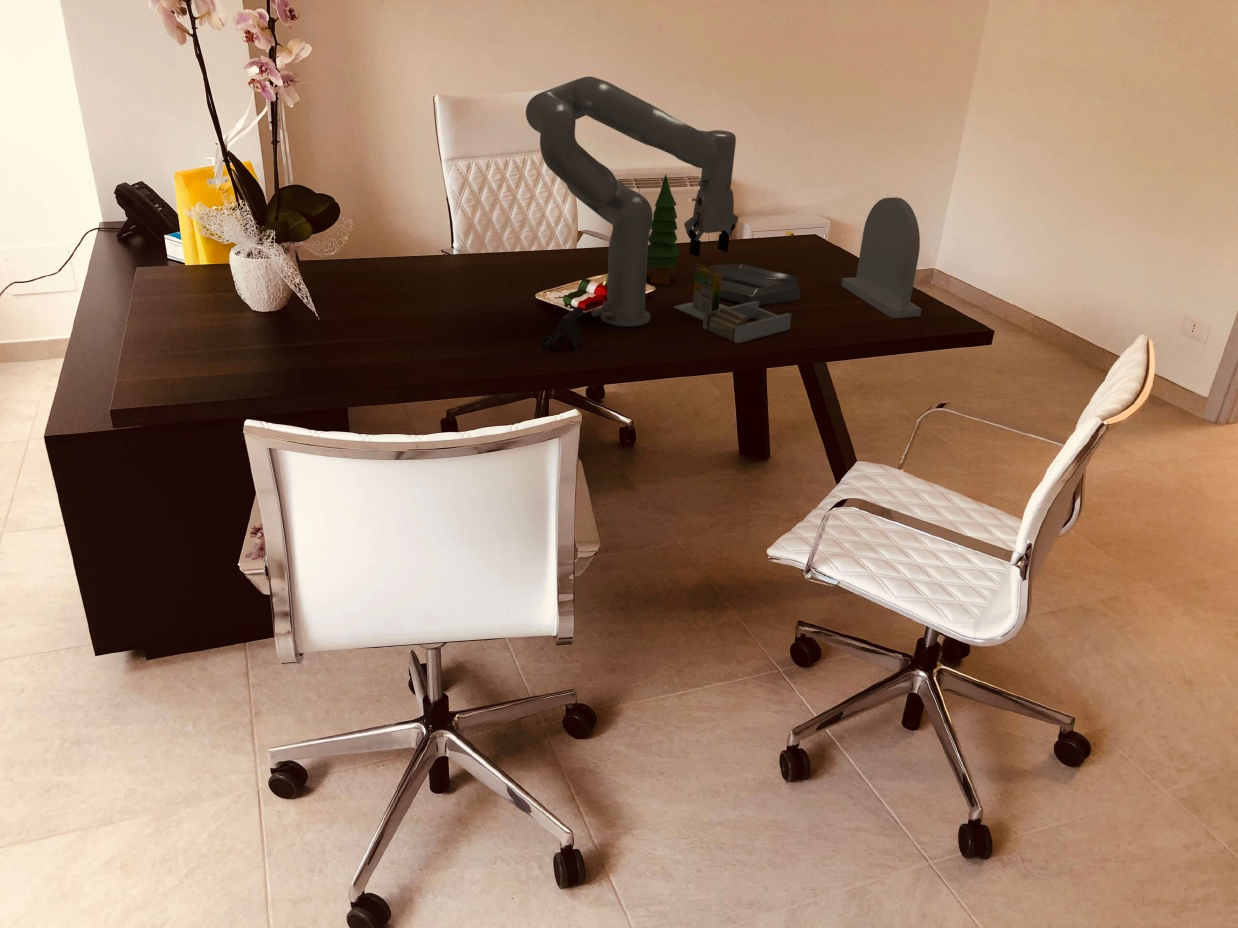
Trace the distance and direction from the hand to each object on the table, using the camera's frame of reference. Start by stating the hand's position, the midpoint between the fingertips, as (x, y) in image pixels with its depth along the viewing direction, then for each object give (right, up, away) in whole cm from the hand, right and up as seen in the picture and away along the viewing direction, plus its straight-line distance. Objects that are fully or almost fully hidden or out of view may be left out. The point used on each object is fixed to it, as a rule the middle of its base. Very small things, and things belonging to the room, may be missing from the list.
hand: (708, 252), depth 245 cm
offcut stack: (+4, -22, -8) cm, 23 cm away
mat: (0, -13, +7) cm, 15 cm away
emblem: (+13, -6, +23) cm, 27 cm away
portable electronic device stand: (-35, -26, -18) cm, 47 cm away
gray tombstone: (+49, -9, +20) cm, 53 cm away
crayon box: (0, -13, +7) cm, 15 cm away
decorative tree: (-11, -2, +29) cm, 31 cm away
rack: (+9, -20, -4) cm, 22 cm away
